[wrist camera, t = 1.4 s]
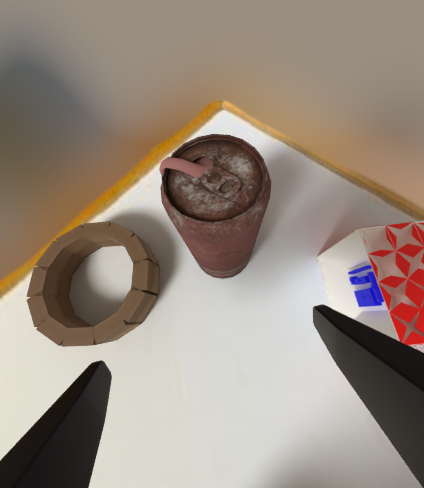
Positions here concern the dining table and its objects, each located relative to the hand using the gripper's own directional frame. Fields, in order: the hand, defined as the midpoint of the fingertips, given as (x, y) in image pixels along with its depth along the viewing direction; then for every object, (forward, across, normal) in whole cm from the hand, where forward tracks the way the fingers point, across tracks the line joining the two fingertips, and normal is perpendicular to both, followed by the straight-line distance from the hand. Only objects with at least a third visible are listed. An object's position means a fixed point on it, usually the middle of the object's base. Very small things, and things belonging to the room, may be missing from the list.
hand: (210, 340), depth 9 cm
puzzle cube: (+10, -15, +9) cm, 20 cm away
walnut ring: (+15, +11, +4) cm, 19 cm away
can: (+15, -2, +4) cm, 16 cm away
